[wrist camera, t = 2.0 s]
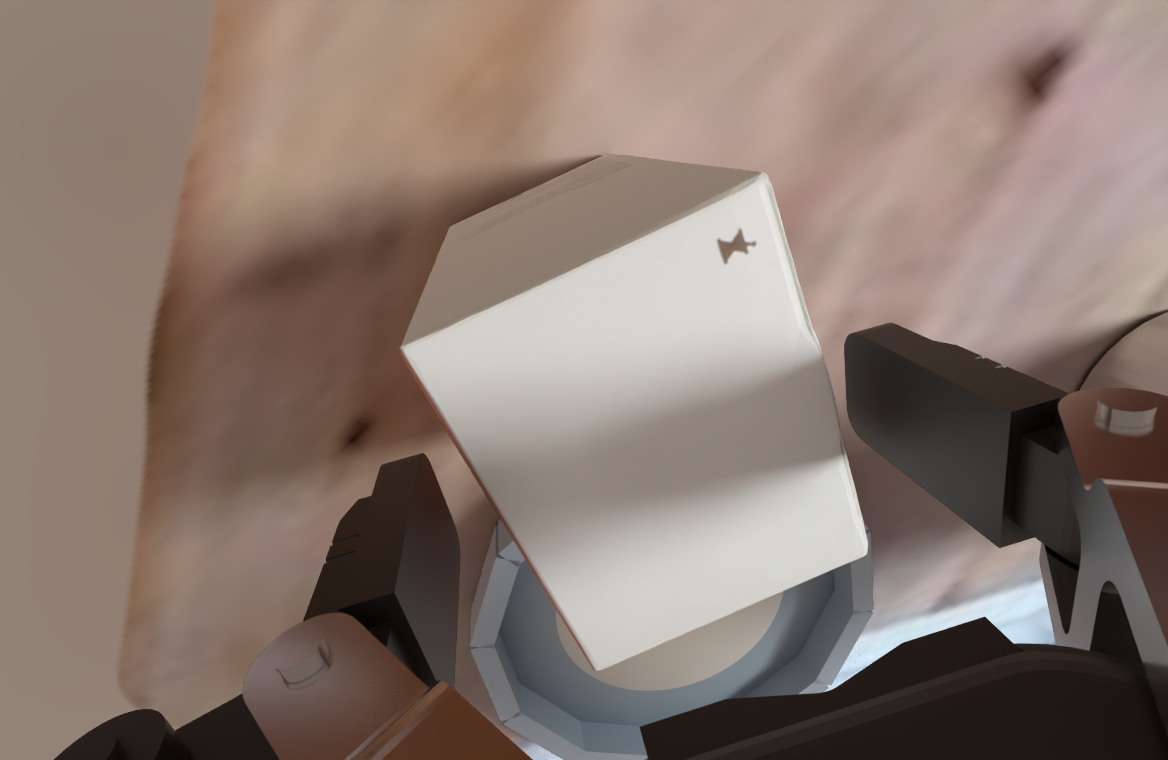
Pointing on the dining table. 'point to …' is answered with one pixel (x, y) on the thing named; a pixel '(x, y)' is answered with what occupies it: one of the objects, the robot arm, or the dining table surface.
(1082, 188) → the dining table surface
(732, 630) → the grey shallow round dish
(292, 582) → the dining table surface
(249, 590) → the dining table surface
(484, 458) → the small box
